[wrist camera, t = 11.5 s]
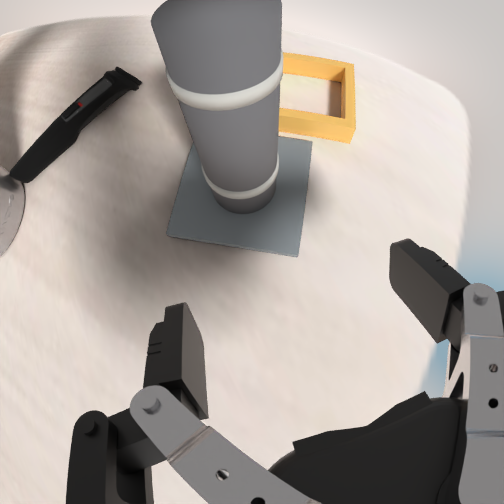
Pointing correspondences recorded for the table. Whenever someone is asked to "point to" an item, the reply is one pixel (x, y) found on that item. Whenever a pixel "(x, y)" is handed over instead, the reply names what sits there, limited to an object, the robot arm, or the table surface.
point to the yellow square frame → (315, 122)
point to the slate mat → (253, 224)
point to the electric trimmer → (73, 123)
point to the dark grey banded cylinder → (227, 91)
